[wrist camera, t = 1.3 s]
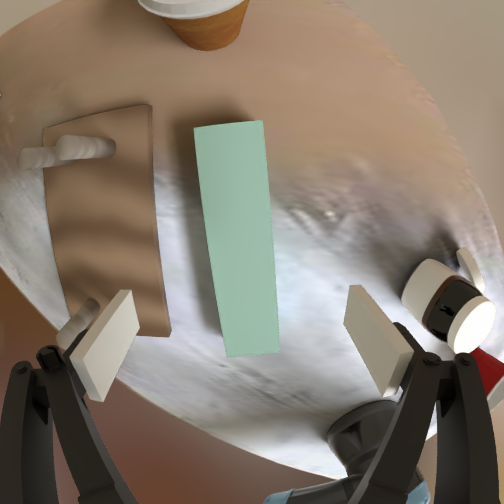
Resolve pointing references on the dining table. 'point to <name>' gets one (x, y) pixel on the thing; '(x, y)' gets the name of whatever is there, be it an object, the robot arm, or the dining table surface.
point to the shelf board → (239, 234)
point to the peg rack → (103, 216)
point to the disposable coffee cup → (201, 20)
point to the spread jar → (450, 302)
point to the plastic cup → (490, 377)
